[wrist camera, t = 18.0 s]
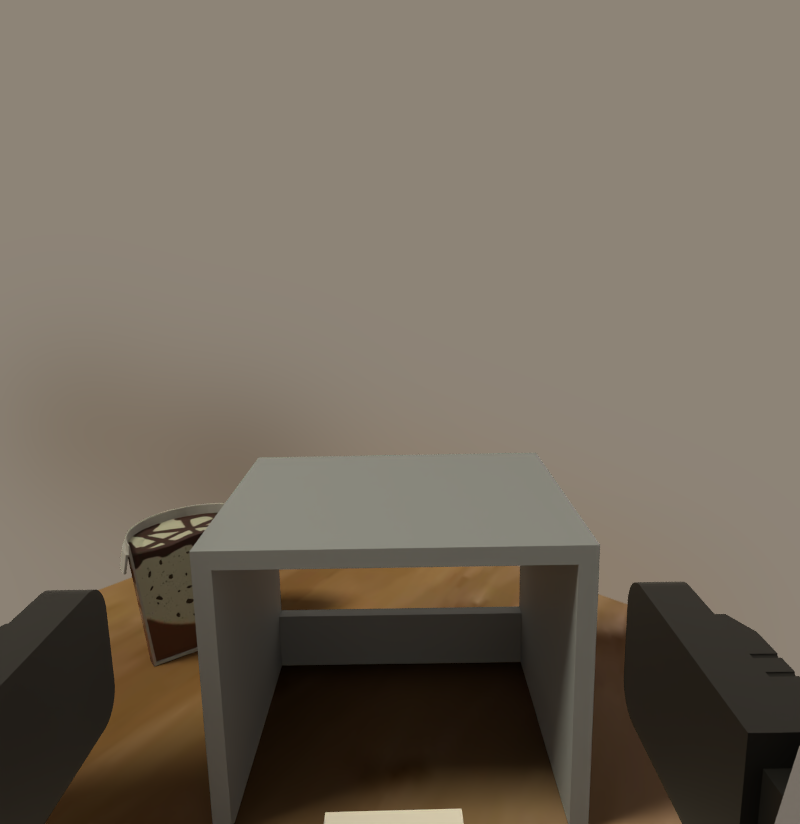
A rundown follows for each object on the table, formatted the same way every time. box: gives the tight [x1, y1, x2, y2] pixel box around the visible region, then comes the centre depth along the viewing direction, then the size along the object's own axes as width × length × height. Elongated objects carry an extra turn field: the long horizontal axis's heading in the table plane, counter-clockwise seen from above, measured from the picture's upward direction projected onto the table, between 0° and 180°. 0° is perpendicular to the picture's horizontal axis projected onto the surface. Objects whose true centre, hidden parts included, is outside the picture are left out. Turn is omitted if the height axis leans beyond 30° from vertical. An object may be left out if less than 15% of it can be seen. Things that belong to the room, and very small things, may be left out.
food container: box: [120, 503, 225, 666], centre depth 58 cm, size 12×6×10 cm, turn 128°
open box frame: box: [189, 453, 600, 824], centre depth 45 cm, size 20×17×16 cm
